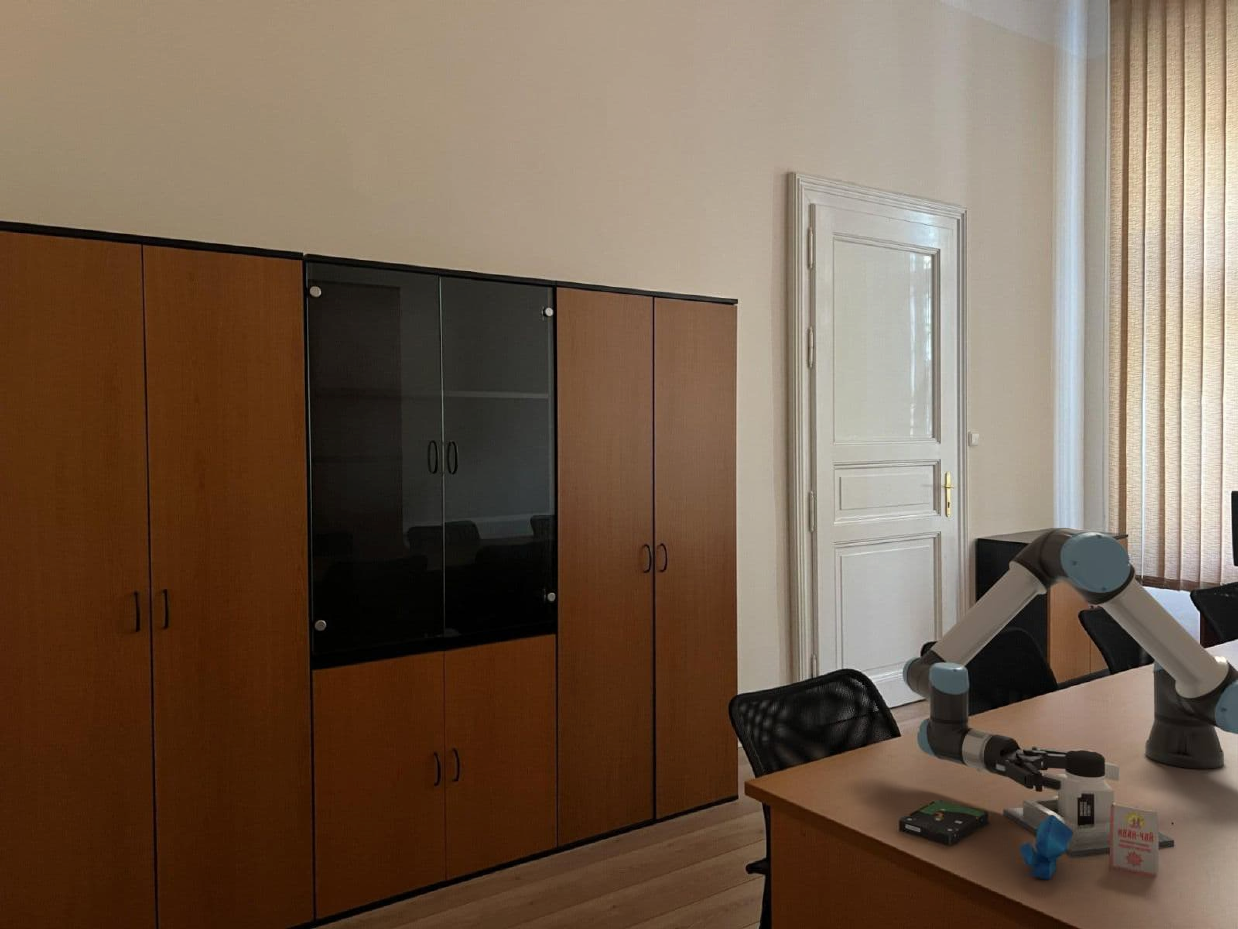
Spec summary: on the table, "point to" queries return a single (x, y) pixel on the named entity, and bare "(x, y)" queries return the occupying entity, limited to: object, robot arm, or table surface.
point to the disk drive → (943, 822)
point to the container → (1086, 789)
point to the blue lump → (1047, 847)
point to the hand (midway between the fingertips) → (1099, 781)
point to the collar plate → (1084, 836)
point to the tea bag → (1134, 840)
